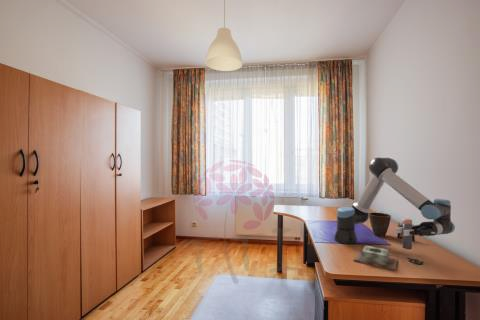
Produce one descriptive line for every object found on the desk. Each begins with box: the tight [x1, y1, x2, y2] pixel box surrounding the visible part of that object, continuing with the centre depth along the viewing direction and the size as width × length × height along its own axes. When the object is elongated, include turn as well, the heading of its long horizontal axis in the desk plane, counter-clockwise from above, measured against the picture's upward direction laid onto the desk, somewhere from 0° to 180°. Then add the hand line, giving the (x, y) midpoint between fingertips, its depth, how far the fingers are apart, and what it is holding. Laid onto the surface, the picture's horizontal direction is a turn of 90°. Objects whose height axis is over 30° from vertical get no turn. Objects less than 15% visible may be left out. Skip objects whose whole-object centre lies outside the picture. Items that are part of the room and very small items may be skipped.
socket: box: [352, 245, 398, 271], centre depth 138 cm, size 20×16×6 cm
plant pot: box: [368, 212, 392, 237], centre depth 189 cm, size 15×15×16 cm
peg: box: [402, 218, 413, 250], centre depth 129 cm, size 4×4×15 cm
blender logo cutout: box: [407, 257, 424, 265], centre depth 139 cm, size 9×8×1 cm
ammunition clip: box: [397, 221, 416, 242], centre depth 179 cm, size 11×2×12 cm, turn 41°
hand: (399, 231), depth 127 cm, fingers closed on peg, 4 cm apart
